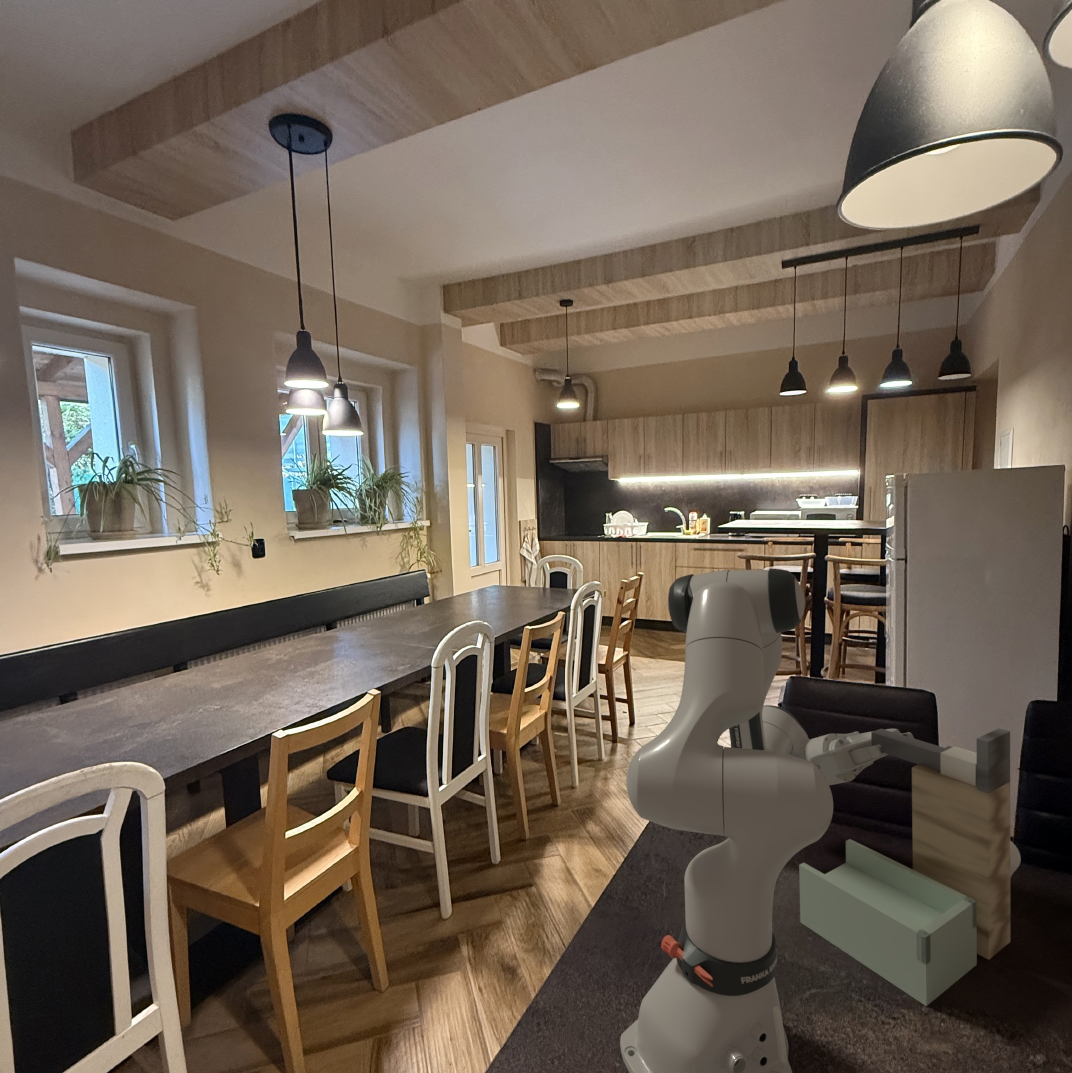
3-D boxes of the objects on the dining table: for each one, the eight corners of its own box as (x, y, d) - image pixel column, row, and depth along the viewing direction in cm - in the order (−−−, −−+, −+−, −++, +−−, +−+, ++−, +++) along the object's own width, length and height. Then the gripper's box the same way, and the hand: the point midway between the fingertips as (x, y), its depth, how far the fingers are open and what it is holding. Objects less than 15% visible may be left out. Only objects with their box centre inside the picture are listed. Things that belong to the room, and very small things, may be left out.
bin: (926, 1006, 83) (925, 937, 83) (800, 922, 100) (799, 864, 100) (976, 964, 90) (976, 900, 89) (850, 892, 107) (849, 838, 107)
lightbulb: (1028, 910, 101) (1028, 847, 100) (988, 906, 102) (987, 844, 102) (1008, 887, 107) (1008, 827, 106) (969, 884, 108) (969, 825, 108)
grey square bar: (975, 785, 92) (975, 763, 92) (869, 749, 107) (868, 730, 106) (989, 778, 94) (989, 756, 94) (883, 743, 109) (883, 724, 109)
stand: (988, 959, 91) (987, 741, 89) (913, 917, 100) (911, 720, 99) (1010, 941, 94) (1010, 731, 92) (935, 902, 104) (934, 711, 102)
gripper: (791, 754, 111) (851, 738, 101) (856, 730, 121) (918, 713, 111) (806, 789, 109) (870, 777, 98) (872, 762, 119) (936, 748, 108)
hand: (896, 743), depth 104 cm, fingers open, 8 cm apart
